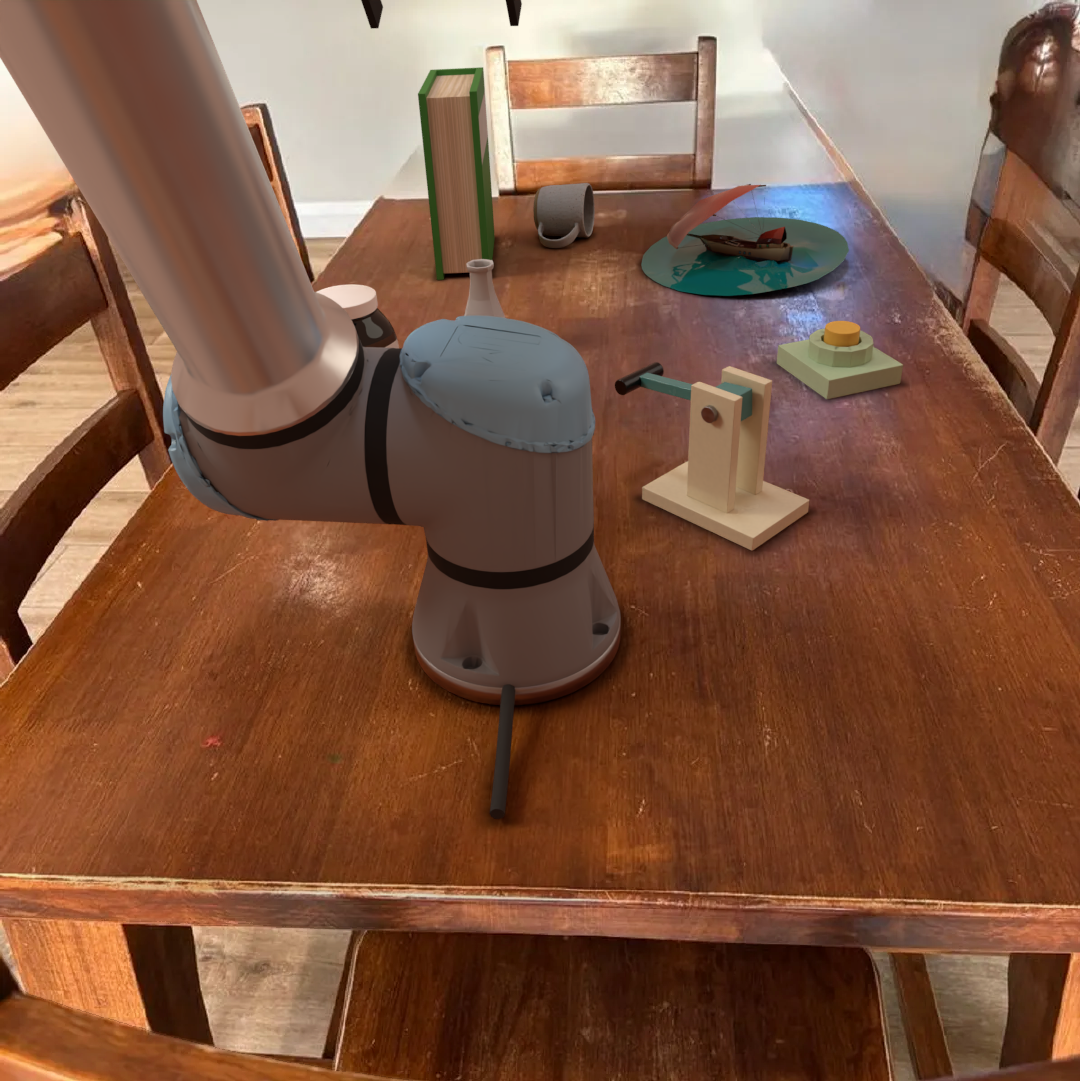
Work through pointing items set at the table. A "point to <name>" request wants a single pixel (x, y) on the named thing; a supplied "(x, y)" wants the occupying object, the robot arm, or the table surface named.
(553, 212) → the ceramic mug
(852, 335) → the button
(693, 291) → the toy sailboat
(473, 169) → the hardback book
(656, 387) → the lever
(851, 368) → the button box
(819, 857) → the table surface
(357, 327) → the lidded mug
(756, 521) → the wooden stand
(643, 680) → the table surface
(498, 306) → the flask
